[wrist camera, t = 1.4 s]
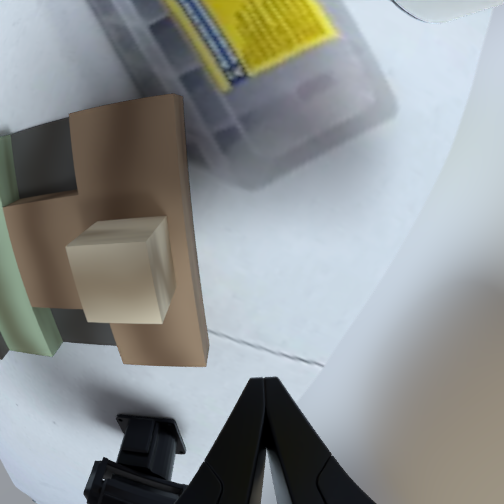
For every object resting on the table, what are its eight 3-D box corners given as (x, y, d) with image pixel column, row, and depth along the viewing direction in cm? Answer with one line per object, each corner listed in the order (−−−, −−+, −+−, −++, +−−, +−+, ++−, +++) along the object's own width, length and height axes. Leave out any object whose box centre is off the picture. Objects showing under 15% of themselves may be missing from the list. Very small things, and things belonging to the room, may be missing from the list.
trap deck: (182, 96, 17) (166, 91, 14) (209, 345, 24) (203, 381, 21) (-35, 152, 18) (-66, 161, 14) (16, 334, 25) (-4, 358, 21)
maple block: (177, 286, 20) (162, 323, 16) (111, 287, 20) (87, 322, 16) (166, 215, 18) (145, 241, 14) (97, 221, 18) (65, 246, 14)
